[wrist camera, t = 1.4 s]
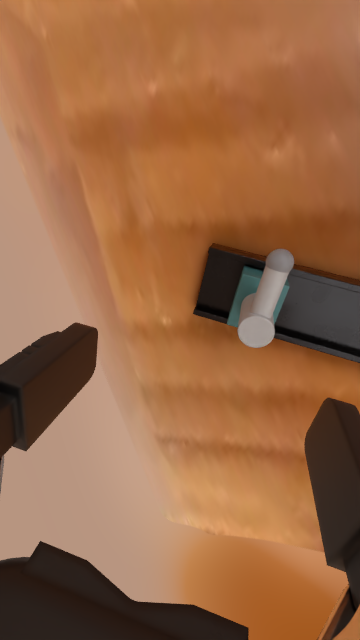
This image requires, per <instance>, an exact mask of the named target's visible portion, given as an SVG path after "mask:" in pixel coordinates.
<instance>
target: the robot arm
mask: <svg viewBox="0 0 360 640" xmlns="http://www.w3.org/2000/svg"><path fill="white" fill-rule="evenodd" d="M97 341H98V331H97V329H96V328H94V327H90V326H87V325H83V324H80V323H74V324H72V325H71V326H69V327H68V328H66V329H65V330H64V331H62V332H58V331H57V332H54V333H51V334H48V335H46V336H43V337H41V338H40V339H38V340H37V341H35V342H34V343H32V344H31V346H28V347H26V348H25V349H23V350H22V352H19V353H17V354H16V355H14V356H13V357H11V358H10V359H8V360H7V361H5V362H4V363H3V364H1V365H0V491H1V482H2V474H3V466H4V454H5V453H6V452H7V451H8V450H9V449H10V448H11V446H13V447H16V448H19V449H21V450H24V451H27V450H28V449H29V448H30V446H31V445H32V444H33V443H34V442H35V441H36V440H37V438H38V437H39V436H40V435H41V434H42V433H43V432H44V431H45V429H46V428H47V427H48V426H49V425H50V424H51V423H52V422H53V420H54V419H55V418H56V417H57V416H58V415H59V414H60V412H62V410H63V409H64V408H65V407H66V406H67V405H68V404H69V402H70V401H71V400H72V399H73V398H74V397H75V396H76V395H77V393H78V392H79V391H80V390H81V389H82V388H83V387H84V385H85V384H86V383H87V382H88V381H89V380H90V378H91V377H92V375H93V373H94V370H95V367H96V357H97ZM305 454H306V459H307V465H308V470H309V475H310V480H311V485H312V490H313V495H314V500H315V505H316V510H317V516H318V521H319V526H320V531H321V536H322V541H323V546H324V551H325V556H326V561H327V565H328V566H331V567H334V568H337V569H339V570H342V571H344V572H346V574H347V578H348V582H349V584H348V585H347V586H346V587H345V589H344V590H343V592H342V594H341V595H340V597H339V599H338V601H337V603H336V605H335V607H334V609H333V611H332V612H331V614H330V616H329V618H328V620H327V622H326V624H325V625H324V627H323V629H322V631H321V633H320V635H319V637H318V638H317V640H360V414H359V412H358V410H357V408H356V406H354V405H352V404H349V403H345V402H342V401H339V400H335V399H332V398H327V399H325V401H324V402H323V404H322V405H321V407H320V409H319V411H318V413H317V415H316V417H315V418H314V420H313V422H312V424H311V426H310V428H309V429H308V432H307V434H306V438H305ZM0 640H248V628H247V627H245V626H243V625H240V624H238V623H236V622H233V621H231V620H228V619H226V618H224V617H221V616H219V615H216V614H214V613H211V612H209V611H207V610H204V609H202V608H200V607H197V606H195V605H187V604H169V603H151V602H137V601H134V600H132V599H130V598H129V597H128V596H126V595H125V594H124V593H123V592H122V591H121V590H120V589H119V588H117V587H116V586H115V585H114V584H113V583H112V582H111V581H110V580H109V579H107V578H106V577H105V576H104V575H103V574H102V573H101V572H100V571H98V570H97V569H96V568H95V567H94V566H93V565H92V564H91V563H90V562H88V561H87V560H84V559H82V558H80V557H77V556H75V555H72V554H70V553H68V552H65V551H63V550H61V549H58V548H56V547H53V546H51V545H49V544H46V543H43V542H41V541H40V542H39V544H38V546H37V547H36V549H35V551H34V552H33V554H32V555H31V557H21V558H10V559H6V560H1V561H0Z"/></svg>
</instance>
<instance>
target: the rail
mask: <svg viewBox="0 0 360 640" xmlns="http://www.w3.org/2000/svg"><path fill="white" fill-rule="evenodd" d="M208 253H209V256H208V260H207V264H206V268H205V272H204V276H203V280H202V284H201V288H200V292H199V296H198V300H197V304H196V307H195V309H194V312H193V314H195V315H198V316H201V317H205V318H208V319H212V320H215V321H218V322H222V323H225V324H227V321H228V317H229V313H230V309H231V306H232V303H233V300H234V296H235V293H236V290H237V287H238V284H239V280H240V277H241V274H242V271H243V268H244V266H248V267H252V268H256V269H260V270H264V269H265V266H266V259H267V257H266V256H262V255H258V254H254V253H250V252H246V251H242V250H238V249H234V248H230V247H227V246H223V245H219V244H215V243H213V244H212V245H211V246H210V248H209V251H208ZM287 280H288V283H289V290H288V292H287V295H286V297H285V299H284V302H283V304H282V307H281V309H280V312H279V314H278V317H277V319H276V322H275V324H274V329H275V334H274V338H276V339H280V340H283V341H287V342H290V343H293V344H297V345H300V346H304V347H307V348H310V349H314V350H317V351H321V352H324V353H327V354H331V355H334V356H338V357H341V358H345V359H348V360H351V361H355V362H358V363H360V281H359V280H356V279H352V278H348V277H344V276H340V275H336V274H332V273H328V272H324V271H320V270H316V269H313V268H309V267H305V266H301V265H297V264H294V265H293V268H292V269H291V271H290V272H289V274H288V276H287Z"/></svg>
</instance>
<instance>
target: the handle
mask: <svg viewBox="0 0 360 640" xmlns="http://www.w3.org/2000/svg"><path fill="white" fill-rule="evenodd" d="M293 265H294V258H293V255H292V254H291V253H290V252H289V251H288V250H285V249H276V250H274V251H272V252H271V253H270V254H269V255H268V256H267V259H266V266H265V269H264V270H260V269H256V268H252V267H248V266H244V268H243V271H242V274H241V277H240V280H239V284H238V287H237V290H236V293H235V296H234V300H233V303H232V306H231V309H230V313H229V317H228V321H227V325H231V326H234V327H238V336H239V338H240V340H241V341H242V342H243V343H244V344H245V345H247V346H249V347H254V348H260V347H263V346H266V345H267V344H269V343H270V342H271V341H272V339H273V338H274V334H275V329H274V324H275V322H276V319H277V317H278V314H279V312H280V309H281V307H282V304H283V302H284V299H285V297H286V295H287V292H288V290H289V283H288V280H287V276H288V274H289V272H290V271H291V269H292V268H293Z"/></svg>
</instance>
